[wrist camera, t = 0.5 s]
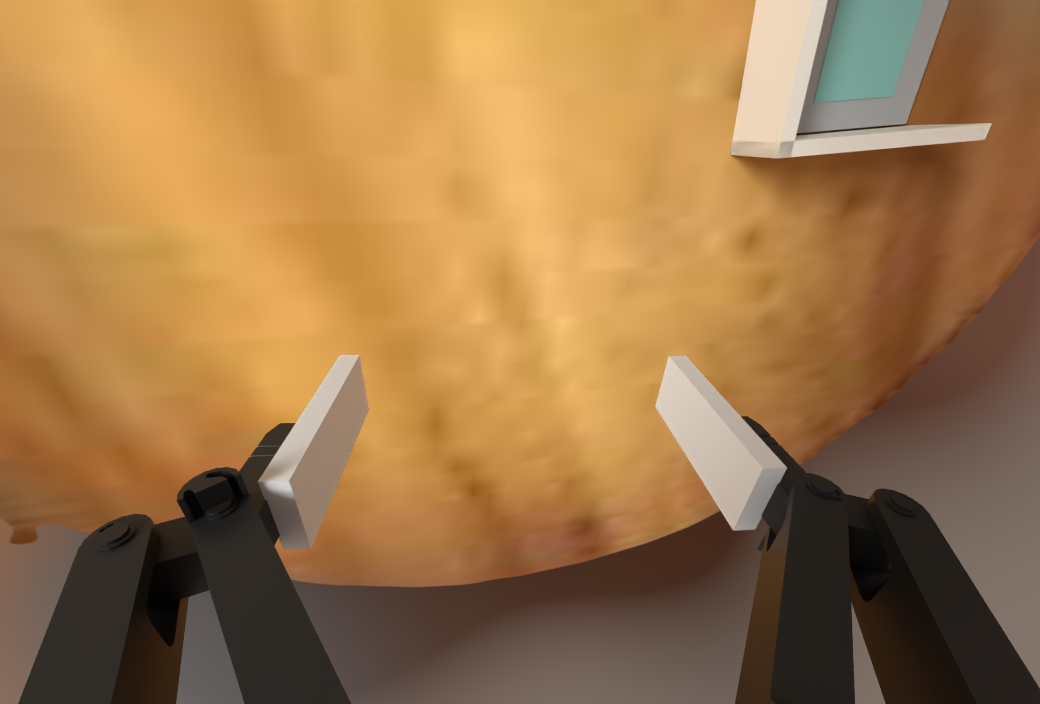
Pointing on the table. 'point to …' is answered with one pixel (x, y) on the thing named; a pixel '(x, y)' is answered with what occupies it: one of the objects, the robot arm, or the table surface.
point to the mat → (869, 62)
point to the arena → (782, 88)
